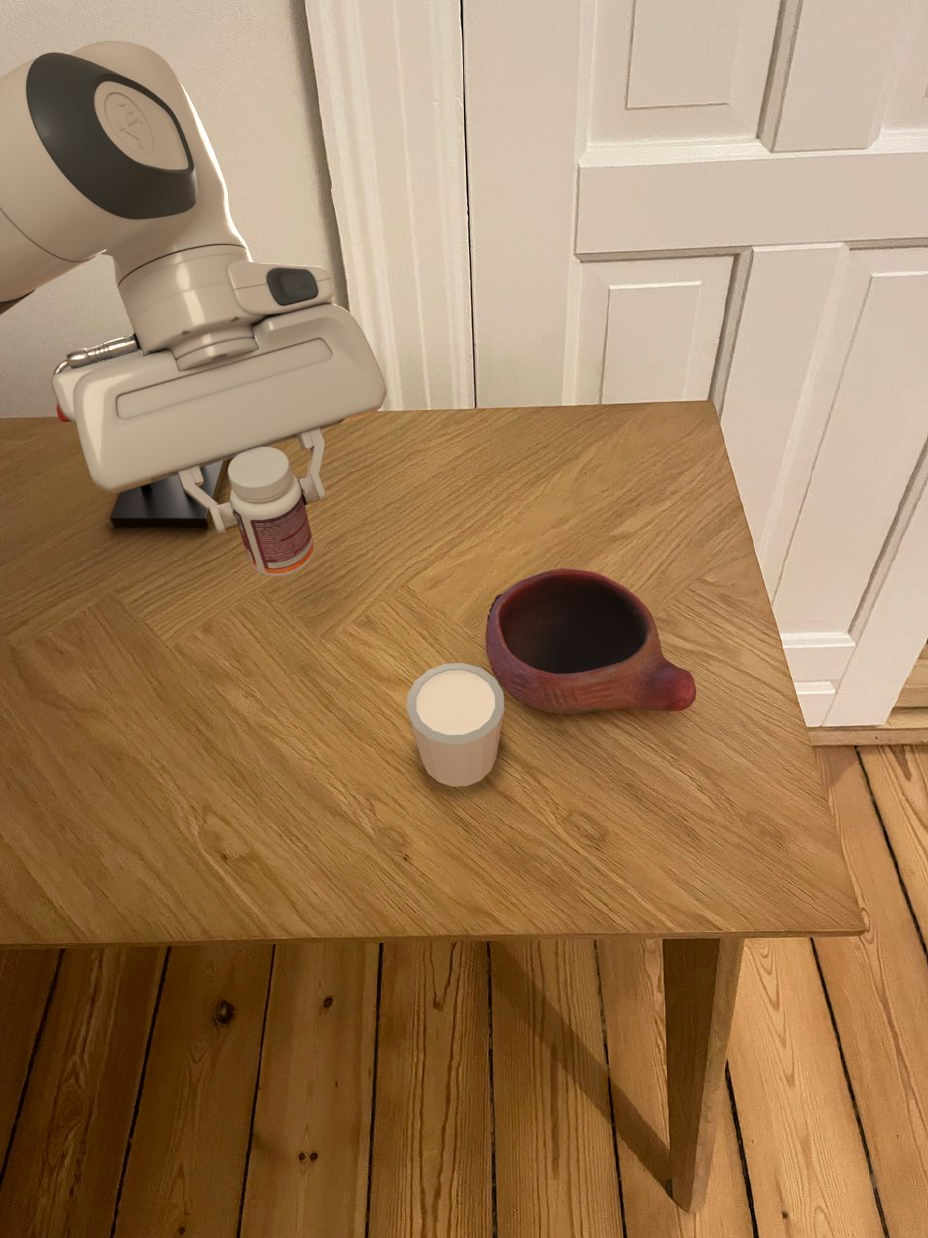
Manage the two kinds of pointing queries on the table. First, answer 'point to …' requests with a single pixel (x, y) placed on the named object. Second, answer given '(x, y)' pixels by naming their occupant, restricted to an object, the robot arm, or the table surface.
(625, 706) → the bowl
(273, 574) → the pill bottle
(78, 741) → the table surface
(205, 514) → the clamp
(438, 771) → the shot glass
